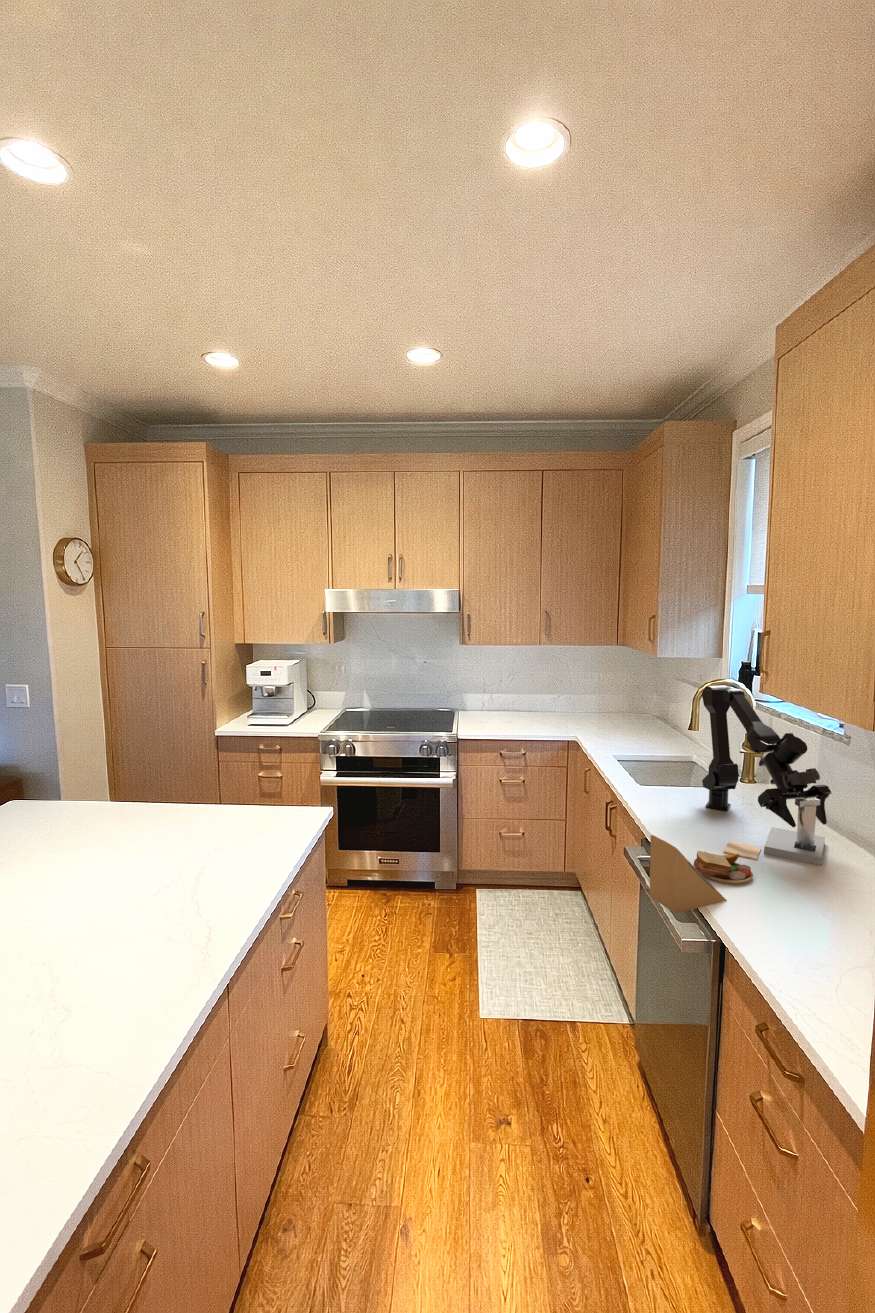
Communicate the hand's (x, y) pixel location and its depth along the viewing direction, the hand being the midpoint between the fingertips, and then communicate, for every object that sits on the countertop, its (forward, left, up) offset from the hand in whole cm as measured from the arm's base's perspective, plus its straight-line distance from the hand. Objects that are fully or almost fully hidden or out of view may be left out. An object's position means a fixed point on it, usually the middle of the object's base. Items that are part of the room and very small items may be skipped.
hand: (810, 825), depth 160 cm
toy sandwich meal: (+24, -17, -9) cm, 30 cm away
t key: (-1, -1, -8) cm, 9 cm away
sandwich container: (+41, -21, -9) cm, 47 cm away
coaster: (+6, -15, -8) cm, 18 cm away
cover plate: (-3, -3, -8) cm, 10 cm away
